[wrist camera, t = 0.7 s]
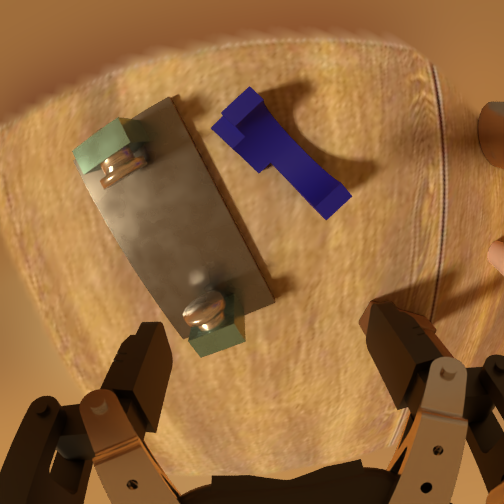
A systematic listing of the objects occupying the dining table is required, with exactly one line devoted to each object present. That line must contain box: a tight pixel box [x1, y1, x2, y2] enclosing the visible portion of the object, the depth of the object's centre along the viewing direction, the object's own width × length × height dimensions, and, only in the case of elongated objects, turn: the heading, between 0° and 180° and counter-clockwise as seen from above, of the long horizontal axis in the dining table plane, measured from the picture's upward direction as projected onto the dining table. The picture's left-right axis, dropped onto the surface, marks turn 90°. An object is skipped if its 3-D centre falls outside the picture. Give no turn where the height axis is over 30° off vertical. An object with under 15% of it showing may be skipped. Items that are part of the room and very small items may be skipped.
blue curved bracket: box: [211, 86, 352, 220], centre depth 24 cm, size 12×4×6 cm, turn 45°
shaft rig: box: [72, 97, 275, 357], centre depth 26 cm, size 12×24×6 cm, turn 25°
